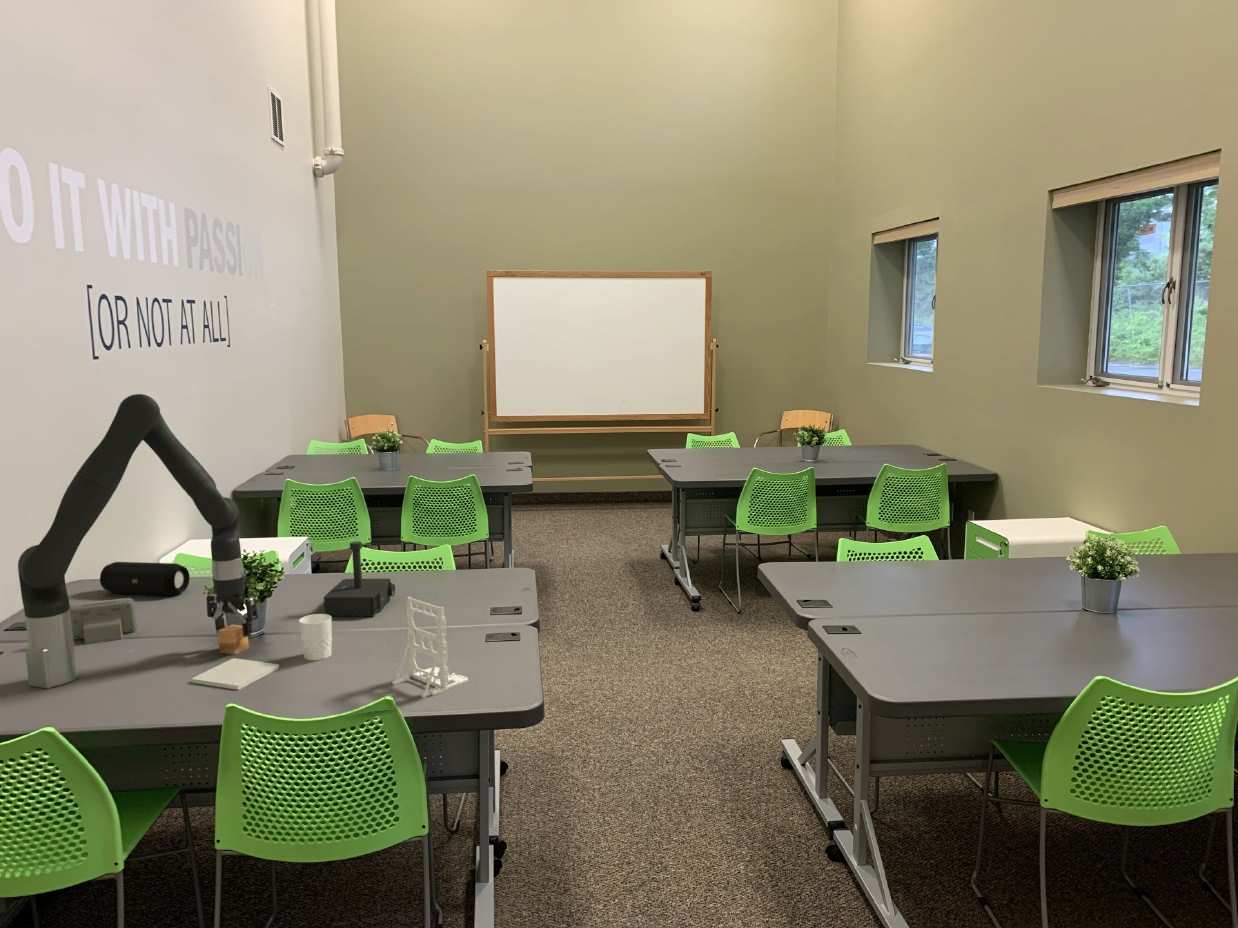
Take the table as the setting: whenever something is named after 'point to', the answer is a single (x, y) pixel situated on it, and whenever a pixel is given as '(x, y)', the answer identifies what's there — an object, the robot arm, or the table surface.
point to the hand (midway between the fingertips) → (234, 634)
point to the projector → (358, 592)
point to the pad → (235, 673)
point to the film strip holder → (428, 652)
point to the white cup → (316, 636)
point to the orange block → (232, 639)
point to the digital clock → (103, 620)
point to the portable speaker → (144, 578)
